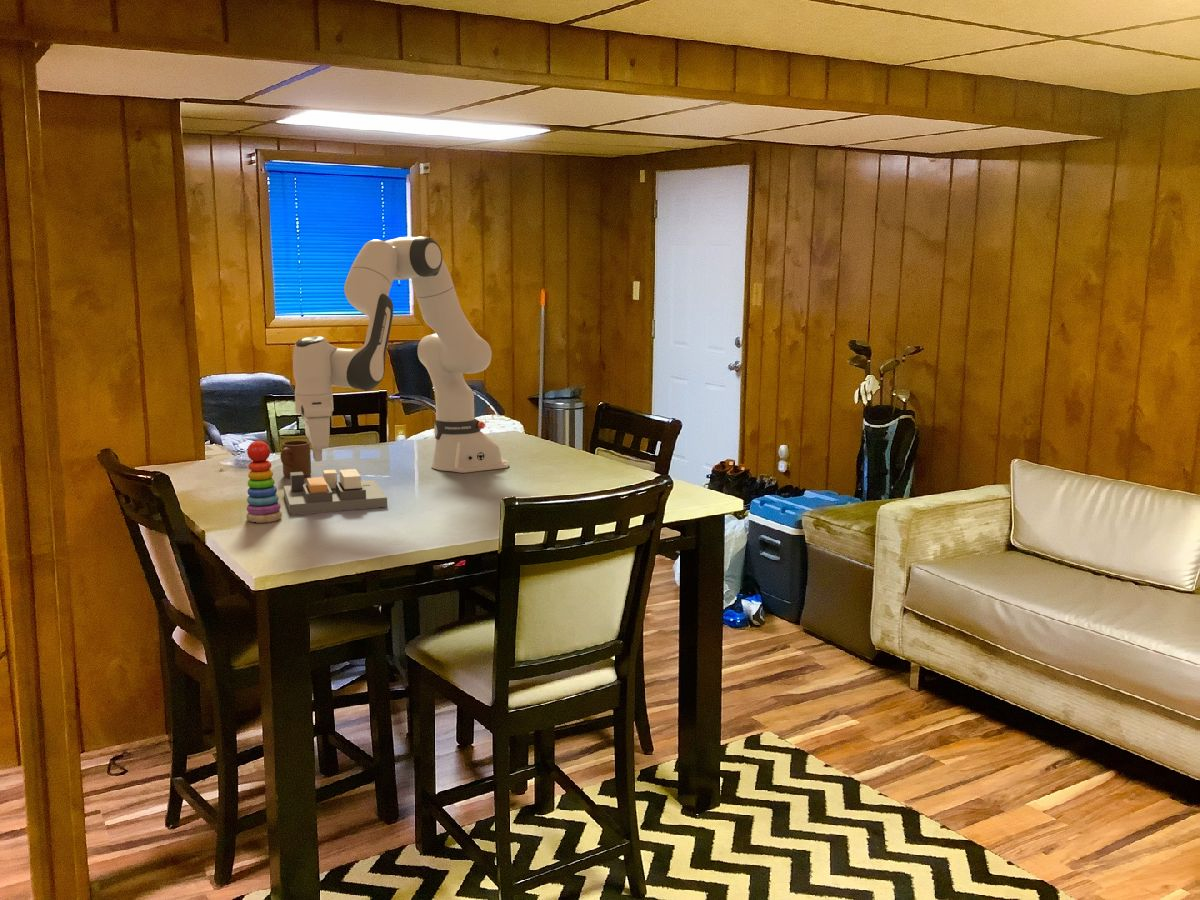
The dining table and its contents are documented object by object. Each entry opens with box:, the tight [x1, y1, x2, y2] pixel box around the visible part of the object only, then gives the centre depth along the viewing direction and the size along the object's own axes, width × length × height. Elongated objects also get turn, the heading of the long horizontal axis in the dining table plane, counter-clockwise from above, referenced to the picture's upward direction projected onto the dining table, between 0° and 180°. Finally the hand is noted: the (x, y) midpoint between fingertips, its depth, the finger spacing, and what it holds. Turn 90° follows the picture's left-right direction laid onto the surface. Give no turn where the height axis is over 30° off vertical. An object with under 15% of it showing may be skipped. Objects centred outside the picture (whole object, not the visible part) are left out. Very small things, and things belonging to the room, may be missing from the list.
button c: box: [306, 476, 328, 493], centre depth 249 cm, size 4×9×3 cm, turn 21°
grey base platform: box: [283, 479, 388, 516], centre depth 255 cm, size 23×21×5 cm
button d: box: [339, 468, 362, 489], centre depth 251 cm, size 4×9×3 cm, turn 21°
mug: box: [279, 440, 312, 479], centre depth 281 cm, size 12×8×9 cm, turn 170°
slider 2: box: [322, 469, 338, 489], centre depth 259 cm, size 3×4×4 cm
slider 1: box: [289, 472, 305, 491], centre depth 256 cm, size 3×4×4 cm
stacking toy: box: [245, 440, 283, 524], centre depth 236 cm, size 8×8×19 cm
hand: (317, 460), depth 248 cm, fingers closed
